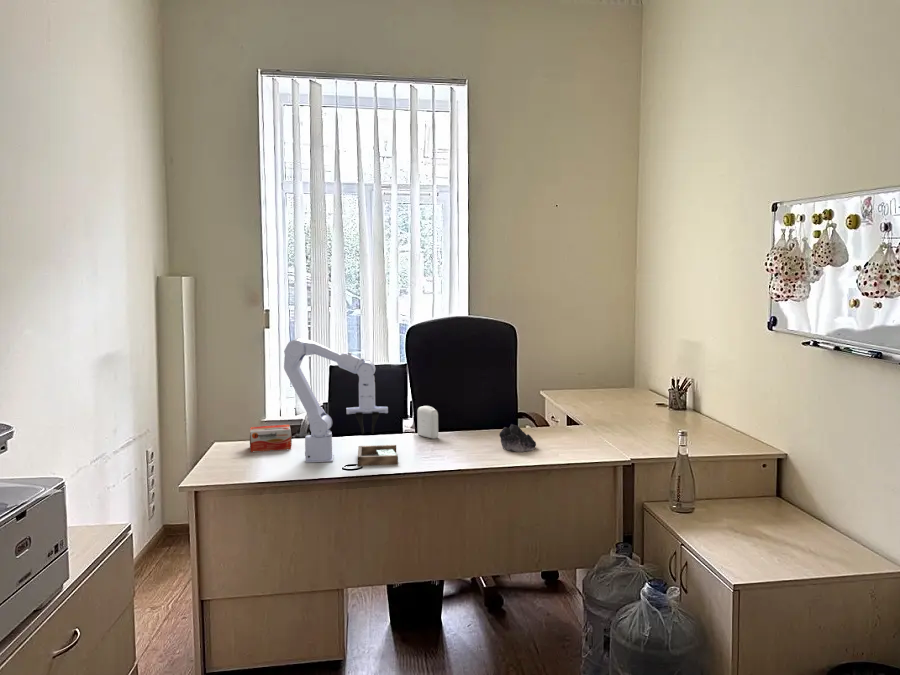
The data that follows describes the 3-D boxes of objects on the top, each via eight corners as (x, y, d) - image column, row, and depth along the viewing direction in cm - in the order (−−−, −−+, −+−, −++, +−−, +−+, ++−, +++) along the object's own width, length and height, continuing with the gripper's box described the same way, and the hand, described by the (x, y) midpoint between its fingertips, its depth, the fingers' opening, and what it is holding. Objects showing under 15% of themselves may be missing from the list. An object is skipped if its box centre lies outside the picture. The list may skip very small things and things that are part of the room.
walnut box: (357, 465, 240) (357, 457, 240) (358, 454, 255) (358, 446, 255) (397, 464, 241) (397, 455, 241) (396, 452, 257) (396, 444, 256)
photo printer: (415, 434, 285) (415, 405, 284) (424, 433, 287) (424, 403, 286) (431, 439, 277) (431, 408, 276) (439, 437, 280) (439, 407, 278)
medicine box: (250, 452, 259) (249, 431, 258) (250, 447, 267) (249, 426, 266) (291, 449, 263) (291, 428, 262) (290, 444, 271) (290, 424, 270)
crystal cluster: (536, 446, 269) (534, 420, 269) (536, 452, 255) (534, 425, 255) (501, 448, 270) (500, 422, 270) (499, 454, 257) (497, 427, 257)
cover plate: (381, 464, 243) (381, 457, 242) (376, 456, 253) (376, 450, 253) (398, 463, 244) (398, 456, 244) (392, 455, 255) (392, 448, 255)
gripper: (345, 398, 241) (346, 436, 242) (387, 396, 243) (388, 435, 244) (346, 394, 248) (347, 432, 249) (387, 393, 250) (388, 430, 251)
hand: (367, 433), depth 247 cm, fingers open, 3 cm apart
